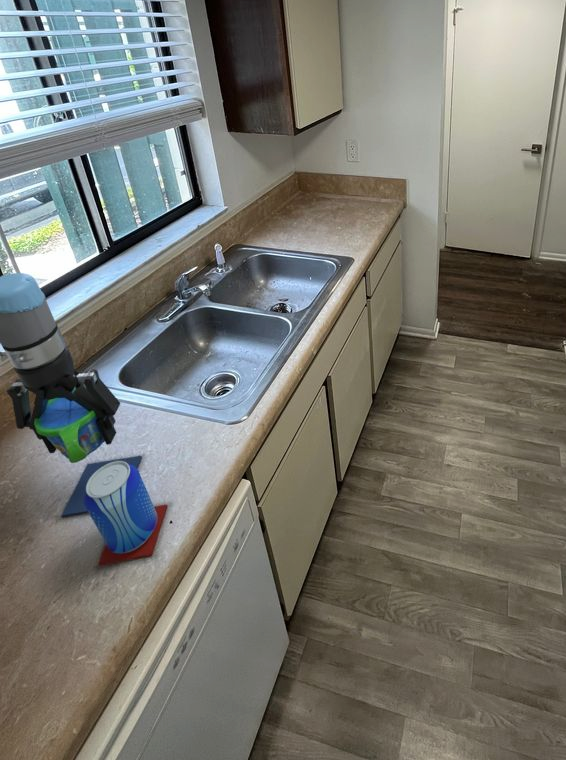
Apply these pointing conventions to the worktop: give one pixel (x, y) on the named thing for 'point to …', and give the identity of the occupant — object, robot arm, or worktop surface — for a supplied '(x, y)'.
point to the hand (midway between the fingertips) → (83, 442)
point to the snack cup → (70, 428)
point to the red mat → (141, 551)
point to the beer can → (120, 506)
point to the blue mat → (77, 498)
